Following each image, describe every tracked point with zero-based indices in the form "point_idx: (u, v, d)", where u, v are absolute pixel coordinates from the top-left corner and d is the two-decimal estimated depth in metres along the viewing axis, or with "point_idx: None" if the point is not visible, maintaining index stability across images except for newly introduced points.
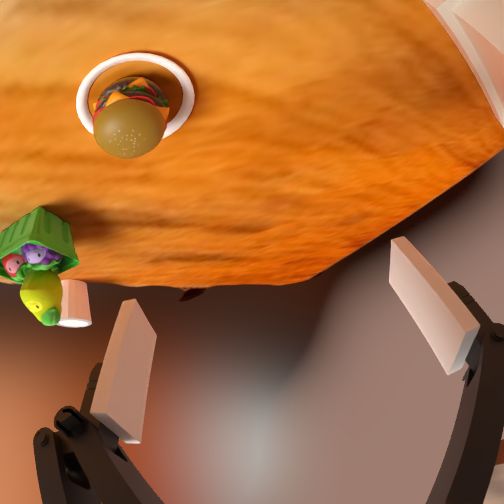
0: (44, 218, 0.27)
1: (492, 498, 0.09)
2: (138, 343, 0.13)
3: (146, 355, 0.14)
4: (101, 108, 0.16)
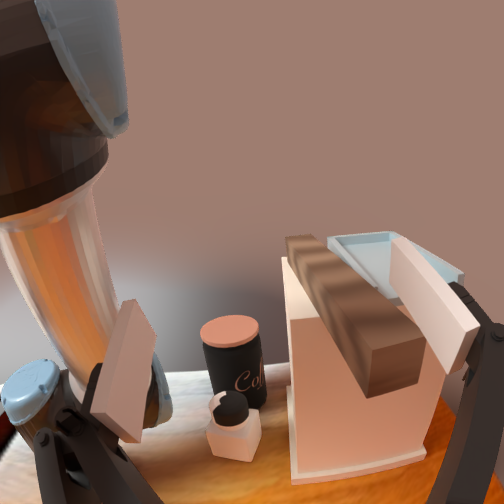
0: None
1: (364, 354, 0.18)
2: (138, 344, 0.13)
3: (146, 355, 0.14)
4: None
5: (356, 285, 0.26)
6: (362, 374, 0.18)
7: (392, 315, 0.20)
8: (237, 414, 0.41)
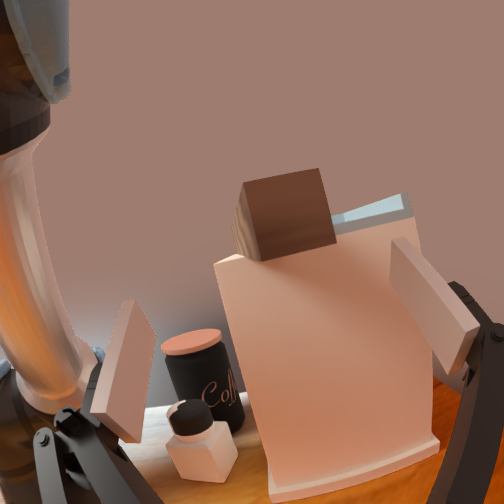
0: None
1: (246, 206, 0.16)
2: (138, 344, 0.13)
3: (145, 355, 0.14)
4: None
5: None
6: (253, 236, 0.16)
7: None
8: (195, 419, 0.34)
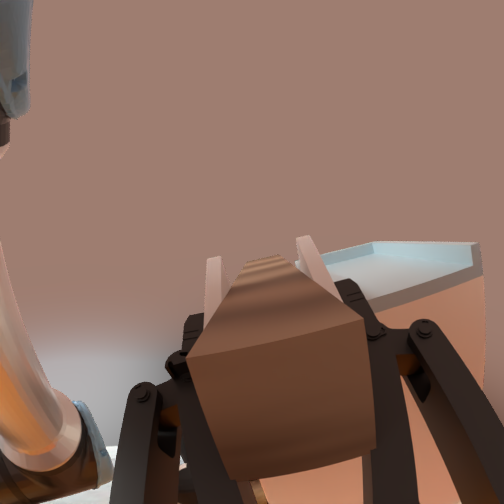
0: None
1: None
2: None
3: None
4: None
5: (279, 278, 0.16)
6: None
7: (303, 299, 0.10)
8: None
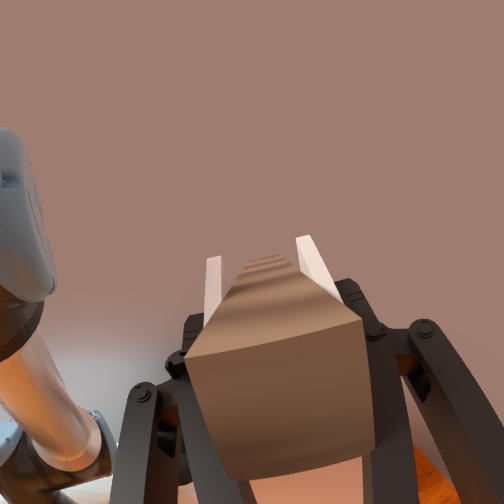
0: None
1: None
2: None
3: None
4: None
5: (279, 278, 0.16)
6: None
7: (302, 299, 0.10)
8: (183, 474, 0.36)
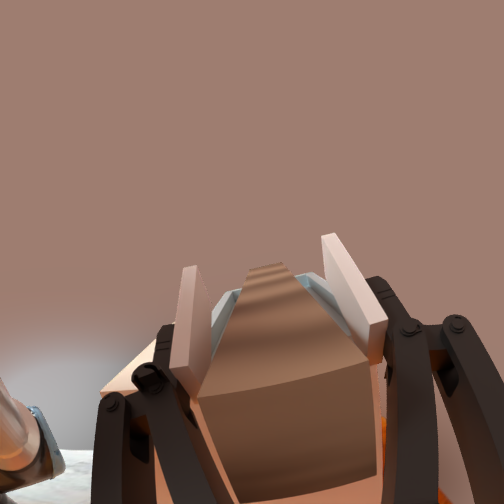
0: None
1: None
2: (202, 307, 0.15)
3: (207, 319, 0.15)
4: None
5: (284, 297, 0.16)
6: None
7: (309, 329, 0.10)
8: None
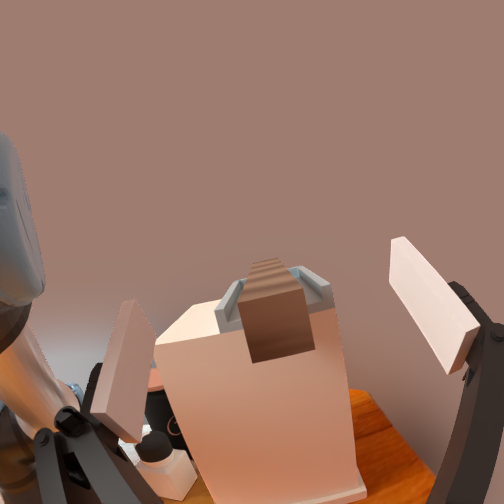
0: None
1: None
2: (138, 344, 0.13)
3: (145, 355, 0.14)
4: None
5: (275, 274, 0.28)
6: None
7: (284, 283, 0.21)
8: (155, 450, 0.38)
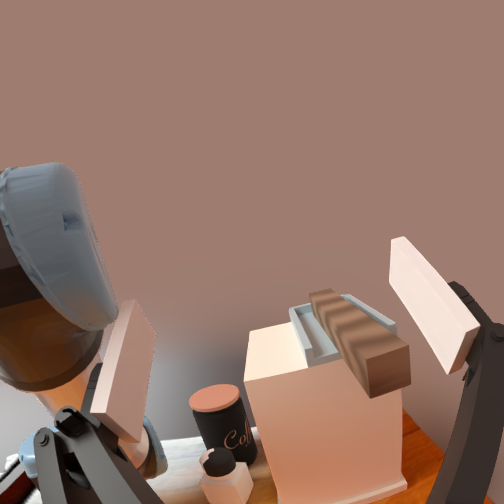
0: None
1: (363, 365, 0.24)
2: (138, 344, 0.13)
3: (146, 355, 0.14)
4: None
5: (361, 321, 0.32)
6: (365, 381, 0.24)
7: (384, 336, 0.26)
8: (223, 465, 0.42)
